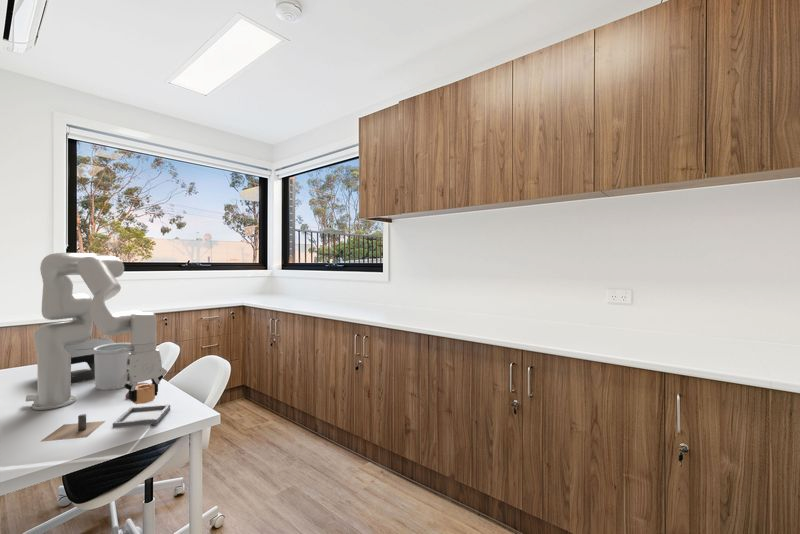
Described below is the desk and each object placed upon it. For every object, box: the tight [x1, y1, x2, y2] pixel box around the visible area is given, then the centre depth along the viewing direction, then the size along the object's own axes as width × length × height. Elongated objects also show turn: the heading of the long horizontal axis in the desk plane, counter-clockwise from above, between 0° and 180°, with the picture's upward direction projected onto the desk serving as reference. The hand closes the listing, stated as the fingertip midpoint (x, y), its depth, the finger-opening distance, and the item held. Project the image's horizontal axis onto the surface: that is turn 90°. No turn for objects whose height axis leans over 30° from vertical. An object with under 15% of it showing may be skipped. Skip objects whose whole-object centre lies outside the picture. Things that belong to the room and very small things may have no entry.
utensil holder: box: [93, 342, 131, 391], centre depth 166 cm, size 15×15×18 cm
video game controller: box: [124, 382, 149, 399], centre depth 152 cm, size 10×5×7 cm, turn 72°
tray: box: [112, 404, 171, 428], centre depth 132 cm, size 13×14×2 cm
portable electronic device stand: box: [64, 336, 116, 384], centre depth 180 cm, size 26×24×16 cm
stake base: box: [39, 413, 106, 442], centre depth 121 cm, size 12×12×6 cm
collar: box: [132, 383, 156, 405], centre depth 131 cm, size 6×8×5 cm
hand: (143, 397), depth 132 cm, fingers closed on collar, 6 cm apart
